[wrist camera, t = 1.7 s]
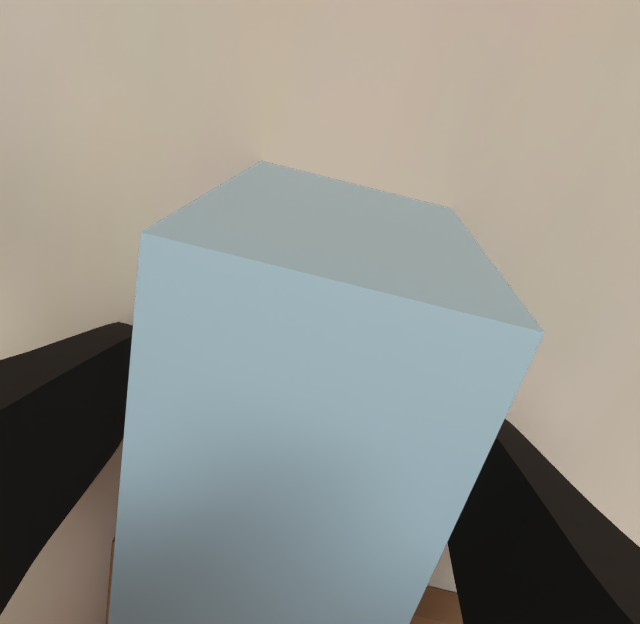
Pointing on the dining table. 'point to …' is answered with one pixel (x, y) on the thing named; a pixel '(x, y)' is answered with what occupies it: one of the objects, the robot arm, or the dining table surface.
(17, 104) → the dining table surface
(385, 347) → the tall light blue prism
